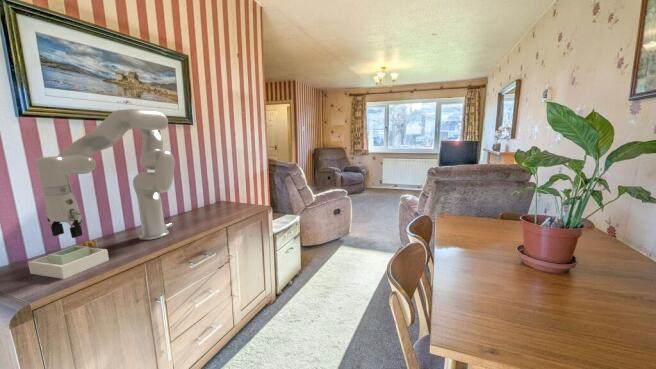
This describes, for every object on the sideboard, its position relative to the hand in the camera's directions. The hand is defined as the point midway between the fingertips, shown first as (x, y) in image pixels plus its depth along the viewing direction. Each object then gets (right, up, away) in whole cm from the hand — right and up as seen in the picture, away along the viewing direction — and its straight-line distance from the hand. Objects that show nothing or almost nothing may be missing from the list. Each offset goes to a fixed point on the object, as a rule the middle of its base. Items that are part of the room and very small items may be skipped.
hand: (67, 235), depth 101 cm
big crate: (0, -12, +1) cm, 12 cm away
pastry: (-9, -10, +18) cm, 22 cm away
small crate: (0, -11, +1) cm, 11 cm away
